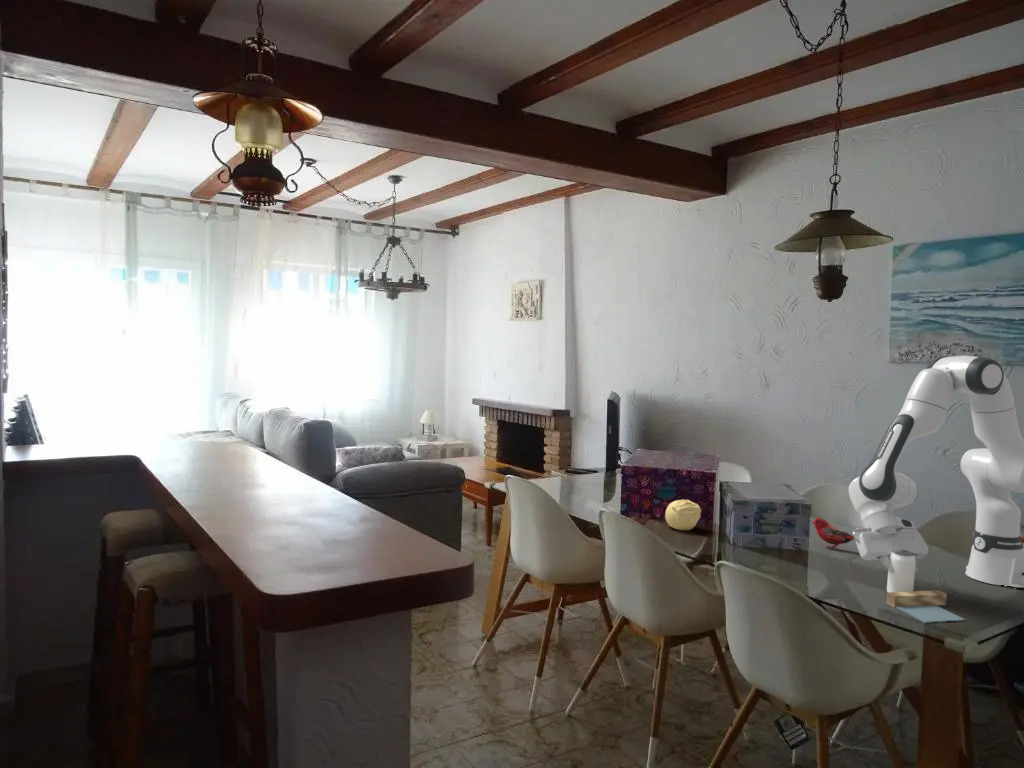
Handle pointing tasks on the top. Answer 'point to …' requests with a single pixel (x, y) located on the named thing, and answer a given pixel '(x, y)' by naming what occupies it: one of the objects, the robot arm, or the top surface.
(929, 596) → the oak rail
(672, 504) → the pale yellow round lump
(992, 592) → the top surface
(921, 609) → the felt mat
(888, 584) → the can
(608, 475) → the top surface
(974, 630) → the top surface
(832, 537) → the decorative bird figurine
